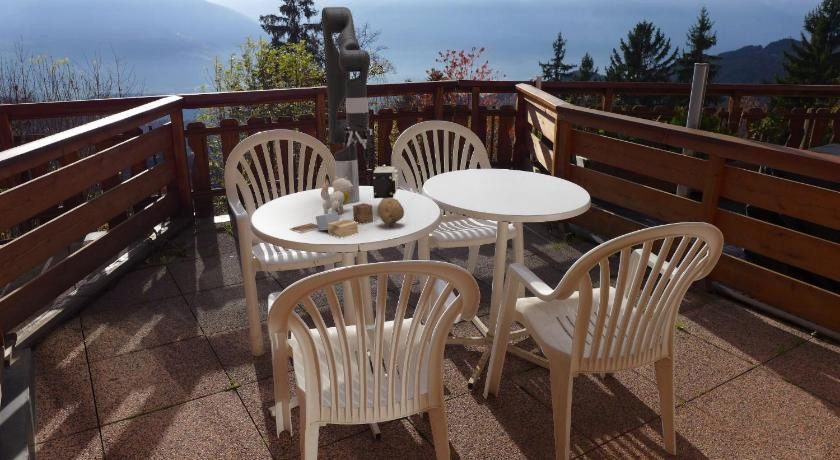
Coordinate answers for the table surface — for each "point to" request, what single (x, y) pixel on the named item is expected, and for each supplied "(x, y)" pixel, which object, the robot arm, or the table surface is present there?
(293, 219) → the table surface
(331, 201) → the toy
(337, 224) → the oak base
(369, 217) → the walnut cube
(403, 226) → the table surface
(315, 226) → the tile
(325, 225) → the bluegrey block
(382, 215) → the natural sponge
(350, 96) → the robot arm
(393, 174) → the black and cream box
